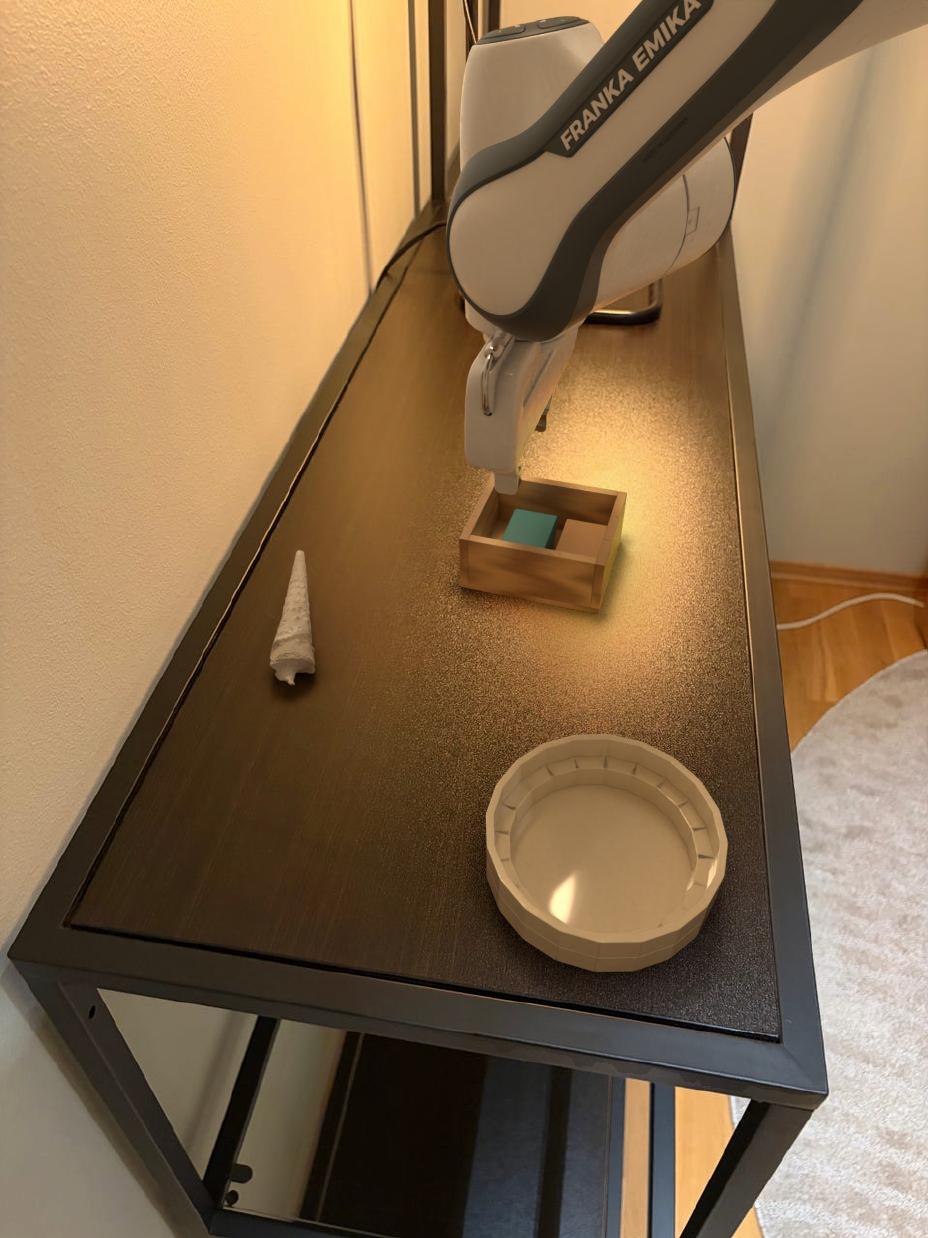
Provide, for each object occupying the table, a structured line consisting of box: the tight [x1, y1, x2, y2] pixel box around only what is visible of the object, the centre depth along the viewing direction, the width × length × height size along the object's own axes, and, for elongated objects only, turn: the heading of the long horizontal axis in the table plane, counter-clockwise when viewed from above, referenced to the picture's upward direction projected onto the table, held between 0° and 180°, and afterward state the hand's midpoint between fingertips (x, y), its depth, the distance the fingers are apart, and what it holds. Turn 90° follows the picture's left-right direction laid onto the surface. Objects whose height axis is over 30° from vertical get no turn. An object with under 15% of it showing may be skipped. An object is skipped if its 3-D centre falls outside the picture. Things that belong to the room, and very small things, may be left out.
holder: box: [458, 471, 628, 615], centre depth 78 cm, size 13×11×6 cm
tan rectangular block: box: [556, 519, 607, 558], centre depth 78 cm, size 4×6×3 cm, turn 162°
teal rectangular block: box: [501, 509, 557, 550], centre depth 79 cm, size 4×6×3 cm, turn 162°
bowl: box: [485, 733, 729, 973], centre depth 56 cm, size 15×15×4 cm
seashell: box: [269, 549, 316, 686], centre depth 72 cm, size 14×4×4 cm
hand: (523, 456), depth 71 cm, fingers open, 8 cm apart
